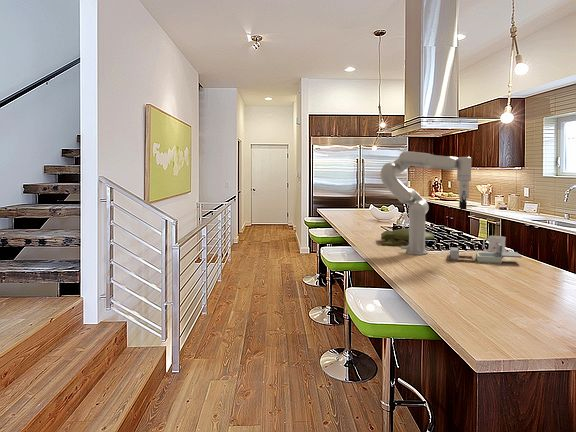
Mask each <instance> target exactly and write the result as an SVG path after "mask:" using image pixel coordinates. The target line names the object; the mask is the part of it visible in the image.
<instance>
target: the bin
mask: <svg viewBox="0 0 576 432" xmlns="http://www.w3.org/2000/svg"><path fill="white" fill-rule="evenodd" d="M502 258H503V257H498V256H497V255H496V254H495V253H494V257H490V256H482V251H481V252H479V251H478V252H477V251H476V252H475V261H476V262H477V263H481V264H501V265H502Z"/></svg>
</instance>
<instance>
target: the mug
mask: <svg viewBox="0 0 576 432" xmlns="http://www.w3.org/2000/svg"><path fill="white" fill-rule="evenodd" d="M506 238H507V237H506V236H502V235H489V237H488V238H483V242H482V243H483V245H482V247H483V249H484V250H485V252H493V253H494V251H497V243H500V244H501V245H502V252H506ZM486 240H488V248H487V249H486V247H485V241H486Z"/></svg>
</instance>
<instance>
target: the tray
mask: <svg viewBox="0 0 576 432" xmlns="http://www.w3.org/2000/svg"><path fill="white" fill-rule="evenodd" d="M446 257H447V262H460V263H461V262H462V263H476V258H475V257H474V256H473V255H461V254H459V259H450V254H447V256H446ZM462 258H463V259H462Z"/></svg>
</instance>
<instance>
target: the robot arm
mask: <svg viewBox="0 0 576 432" xmlns="http://www.w3.org/2000/svg"><path fill="white" fill-rule="evenodd" d="M410 167H418V168H424V169H425V168H426V169H435V170H436V169H437V170H445V171H450V170H456V171H457V173H456V182H458V197H459V202H458V206H459V208H460V210H467V200H469V198H470V183H469V182H472V157H470V156H459V157H457V156H449V155H447V156H445V155H438V154H437V155H436V154H432V153H427V152H418V151H409V150H408V151H407V150H404V151H402V152H401V153H400V154H399V156H398V158H396V159H395V160H394V161H392V162H387V163H385V164H384V165H382V167H381V170H380V179H381V182H382V183H383V185H384V186H385V187H386V188H387V189H388V190H389V192H390V193H391V194H393V196H394V197H395V198H397V200H398V201H399V202H400V203H401V204H406V205H407V206H408V218H409V219H408V227H409V240H408V243H409V245H408V246H400V249H401V250H405V253H406V254H409V255H415V256H416V255H417V256H421V255H427V254H428V251H427V250H426V247H425V244H426V240H425V231H426V214H427V213H428V211H429V209H430V206H429V203H428V202H427V201H426V200H425V199H424V198H423V196H421V195H420V194H419V192H417V190H415V189H413V188H412V187H407V186H406V185H404V183H403V182H402V181H401V180H399V179H398V178H397V177H396V176H398V175H399V174H401V173H403V172H405V171H406V170H407V169H408V168H410Z"/></svg>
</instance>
